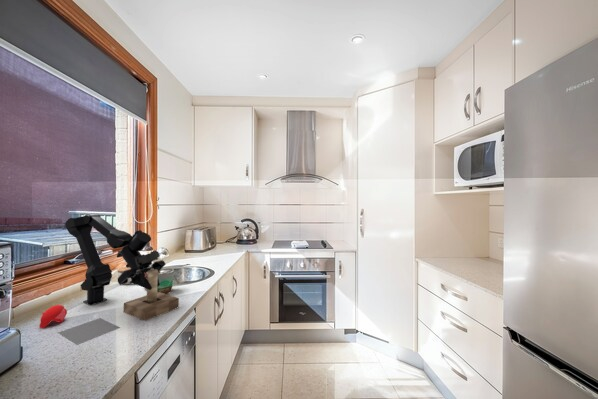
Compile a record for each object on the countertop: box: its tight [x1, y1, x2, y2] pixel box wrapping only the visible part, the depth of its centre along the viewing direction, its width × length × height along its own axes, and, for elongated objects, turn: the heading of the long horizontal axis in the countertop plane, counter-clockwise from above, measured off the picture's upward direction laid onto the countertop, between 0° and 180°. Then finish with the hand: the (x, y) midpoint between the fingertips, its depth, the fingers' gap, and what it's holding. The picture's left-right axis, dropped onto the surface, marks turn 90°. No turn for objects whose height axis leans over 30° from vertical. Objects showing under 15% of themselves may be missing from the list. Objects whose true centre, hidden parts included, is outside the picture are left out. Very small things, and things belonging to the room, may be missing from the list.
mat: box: [57, 317, 121, 346], centre depth 84 cm, size 14×12×1 cm
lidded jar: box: [117, 266, 133, 285], centre depth 134 cm, size 11×11×9 cm
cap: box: [39, 304, 68, 329], centre depth 88 cm, size 8×6×6 cm
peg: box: [146, 269, 158, 304], centre depth 101 cm, size 4×4×14 cm
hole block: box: [122, 292, 180, 321], centre depth 101 cm, size 14×14×4 cm
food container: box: [157, 268, 176, 295], centre depth 119 cm, size 12×6×10 cm, turn 148°
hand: (154, 287), depth 101 cm, fingers closed on peg, 4 cm apart
